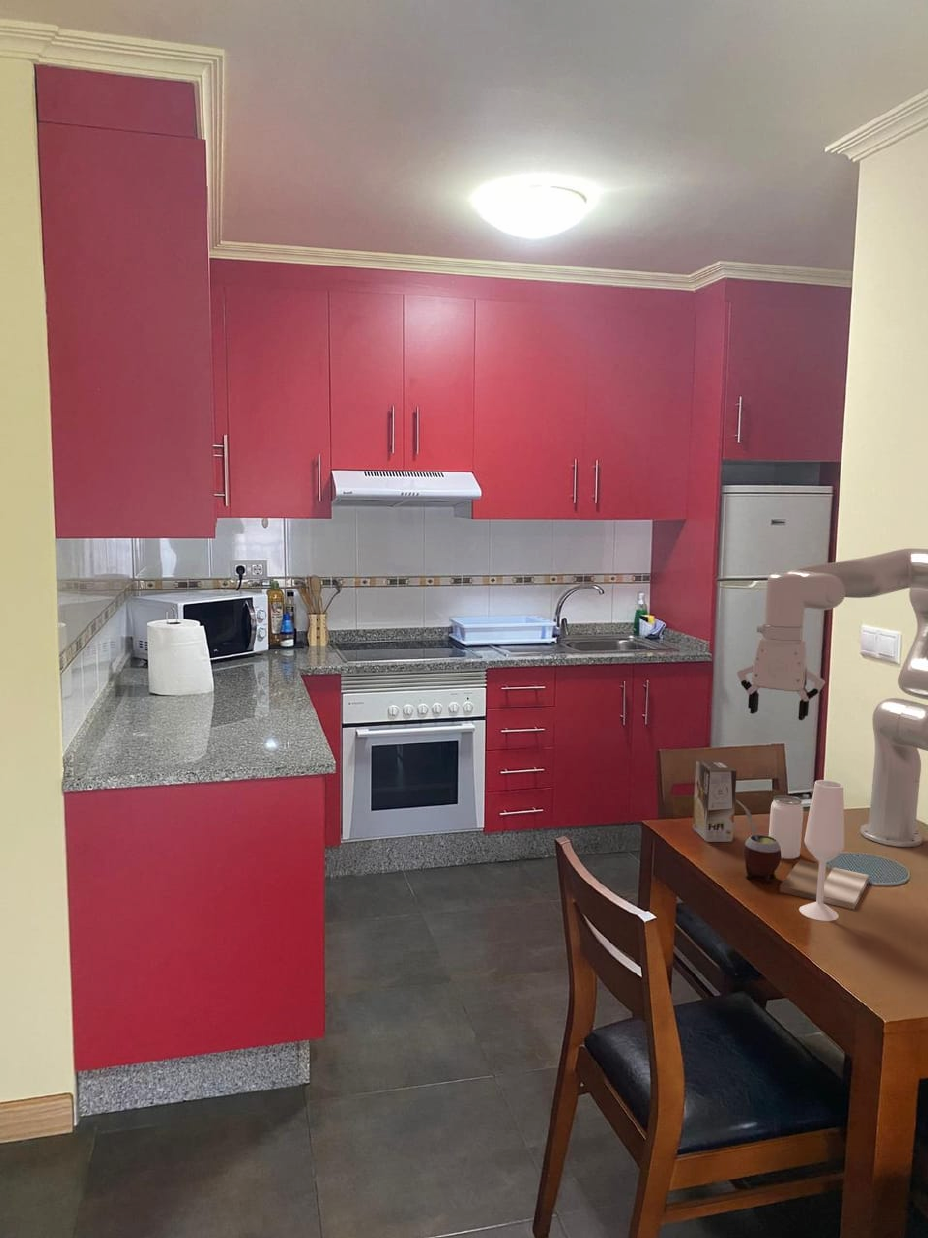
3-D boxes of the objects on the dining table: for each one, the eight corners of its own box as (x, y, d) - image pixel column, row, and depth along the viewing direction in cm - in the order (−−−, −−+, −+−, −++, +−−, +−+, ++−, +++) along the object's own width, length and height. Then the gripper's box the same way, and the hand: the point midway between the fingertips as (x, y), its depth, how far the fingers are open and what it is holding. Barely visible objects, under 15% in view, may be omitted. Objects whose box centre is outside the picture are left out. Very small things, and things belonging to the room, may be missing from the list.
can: (794, 862, 187) (798, 806, 186) (763, 854, 191) (767, 799, 190) (803, 853, 192) (808, 799, 191) (773, 846, 196) (777, 792, 195)
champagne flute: (845, 914, 163) (856, 785, 160) (826, 924, 159) (837, 792, 156) (811, 901, 168) (821, 776, 165) (791, 910, 164) (801, 782, 161)
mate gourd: (786, 884, 176) (791, 809, 174) (749, 886, 174) (754, 811, 173) (765, 869, 183) (770, 797, 181) (730, 871, 182) (735, 799, 180)
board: (799, 865, 186) (799, 859, 186) (868, 881, 179) (869, 875, 179) (779, 891, 172) (780, 885, 172) (853, 909, 165) (854, 903, 165)
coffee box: (733, 842, 198) (738, 771, 196) (705, 842, 197) (709, 771, 195) (717, 827, 207) (722, 759, 205) (690, 828, 206) (695, 759, 204)
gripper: (735, 631, 186) (730, 713, 188) (823, 640, 177) (817, 725, 179) (745, 628, 193) (740, 707, 195) (831, 636, 183) (825, 718, 186)
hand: (777, 715), depth 187 cm, fingers open, 9 cm apart
